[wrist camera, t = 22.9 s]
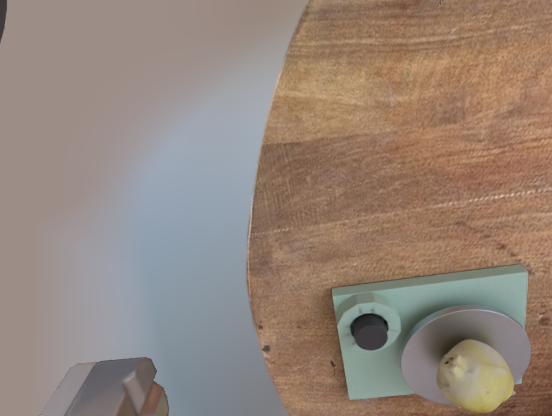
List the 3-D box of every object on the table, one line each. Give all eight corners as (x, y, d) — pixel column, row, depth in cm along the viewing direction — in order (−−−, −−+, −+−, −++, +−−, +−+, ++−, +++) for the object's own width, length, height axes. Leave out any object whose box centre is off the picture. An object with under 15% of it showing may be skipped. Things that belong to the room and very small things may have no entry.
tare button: (354, 339, 42) (356, 352, 40) (351, 315, 40) (353, 327, 39) (385, 336, 41) (389, 349, 40) (382, 311, 40) (386, 323, 38)
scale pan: (403, 404, 44) (405, 411, 44) (394, 312, 40) (396, 318, 39) (524, 393, 43) (528, 399, 42) (530, 296, 38) (535, 301, 37)
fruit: (485, 402, 43) (408, 373, 40) (516, 351, 42) (440, 318, 39) (531, 446, 37) (445, 416, 34) (567, 388, 37) (483, 353, 34)
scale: (347, 390, 48) (350, 412, 45) (331, 288, 42) (333, 306, 40) (515, 373, 46) (529, 396, 43) (521, 263, 40) (537, 281, 37)
